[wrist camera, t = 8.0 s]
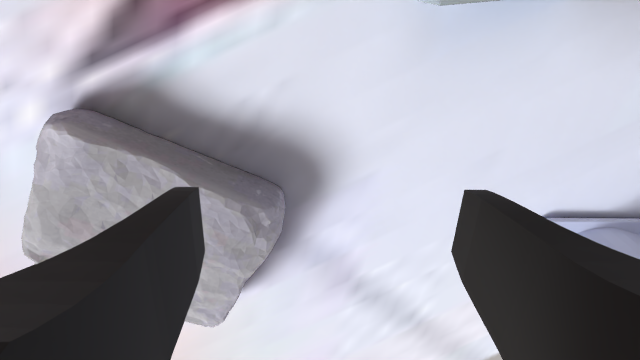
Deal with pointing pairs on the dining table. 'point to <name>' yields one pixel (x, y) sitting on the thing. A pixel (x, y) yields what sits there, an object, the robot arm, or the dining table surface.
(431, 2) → the grey-blue block
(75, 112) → the stone block
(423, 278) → the dining table surface
